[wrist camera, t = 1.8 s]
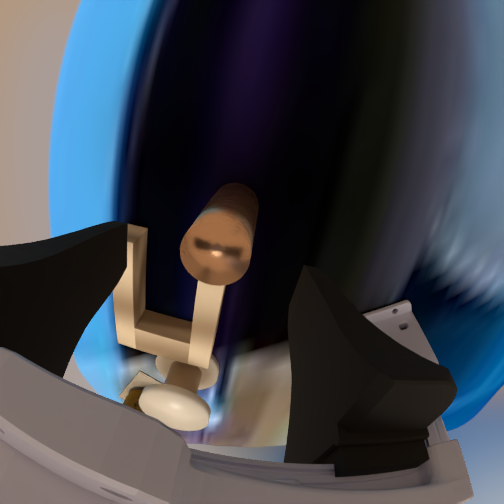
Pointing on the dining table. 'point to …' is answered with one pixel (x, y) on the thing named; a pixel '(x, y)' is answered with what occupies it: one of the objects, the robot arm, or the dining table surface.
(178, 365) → the bobbin
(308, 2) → the dining table surface
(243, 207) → the copper peg
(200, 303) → the notched board
